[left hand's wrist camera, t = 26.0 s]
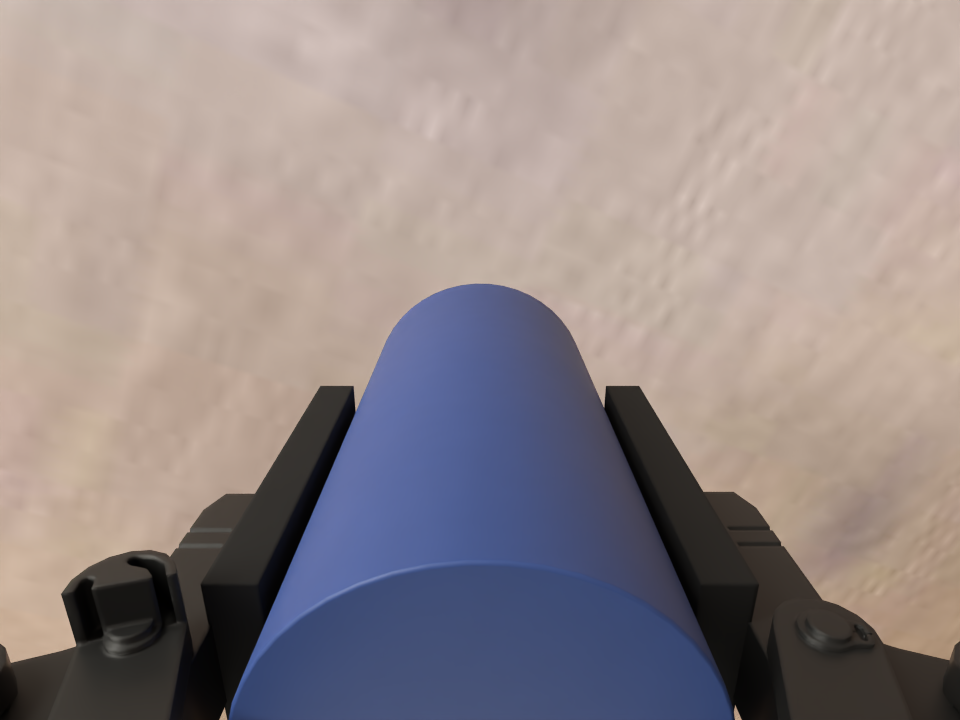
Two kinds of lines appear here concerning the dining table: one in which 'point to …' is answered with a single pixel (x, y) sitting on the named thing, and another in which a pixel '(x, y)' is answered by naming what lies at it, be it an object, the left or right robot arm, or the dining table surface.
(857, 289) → the dining table surface
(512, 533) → the canister
